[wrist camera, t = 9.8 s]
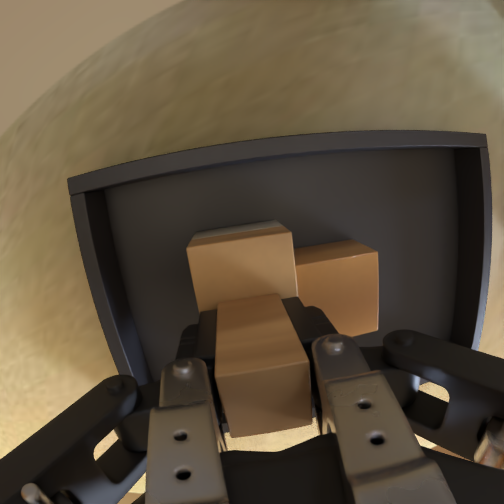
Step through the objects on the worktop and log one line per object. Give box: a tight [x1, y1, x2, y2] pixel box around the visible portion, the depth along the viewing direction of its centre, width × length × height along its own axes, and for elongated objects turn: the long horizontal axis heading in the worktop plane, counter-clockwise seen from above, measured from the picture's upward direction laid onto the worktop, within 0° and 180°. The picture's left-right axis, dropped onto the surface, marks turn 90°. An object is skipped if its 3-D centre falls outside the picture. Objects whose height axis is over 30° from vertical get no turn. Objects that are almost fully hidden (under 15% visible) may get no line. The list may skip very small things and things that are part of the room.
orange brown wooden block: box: [294, 239, 379, 337], centre depth 15 cm, size 4×4×3 cm
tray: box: [67, 130, 492, 433], centre depth 15 cm, size 15×22×3 cm
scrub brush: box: [186, 220, 313, 438], centre depth 12 cm, size 7×4×9 cm, turn 8°
